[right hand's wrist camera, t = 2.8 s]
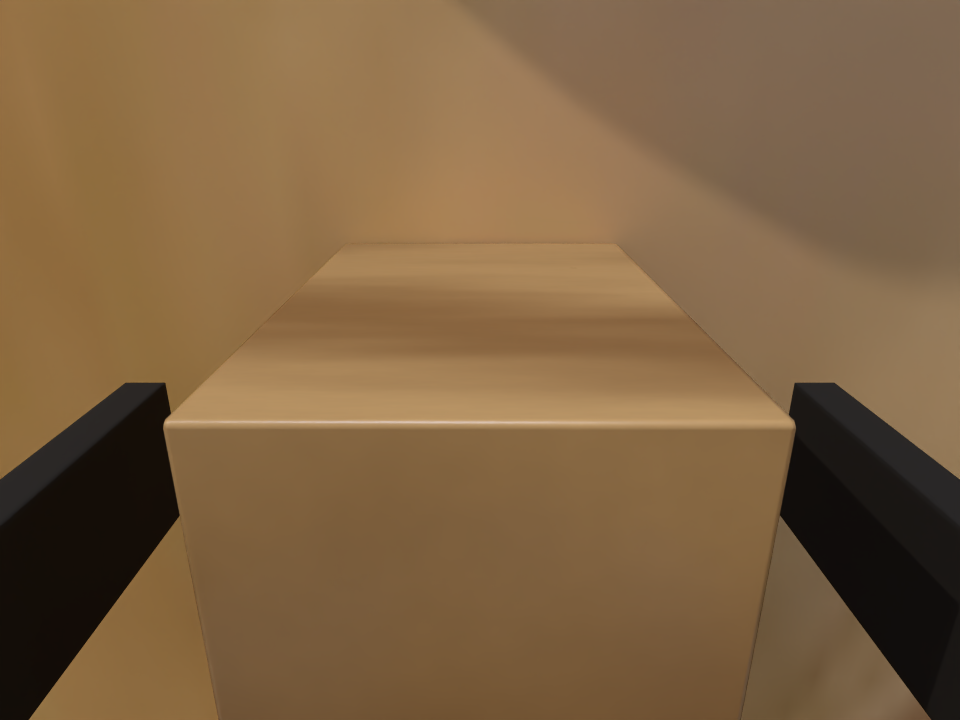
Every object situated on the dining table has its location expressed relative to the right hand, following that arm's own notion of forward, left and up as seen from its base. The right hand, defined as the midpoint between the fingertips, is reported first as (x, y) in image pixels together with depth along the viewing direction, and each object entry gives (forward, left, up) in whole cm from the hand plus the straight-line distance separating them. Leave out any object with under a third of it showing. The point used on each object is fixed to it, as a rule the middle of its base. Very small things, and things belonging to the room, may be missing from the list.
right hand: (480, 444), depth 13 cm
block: (-12, +7, -2) cm, 14 cm away
